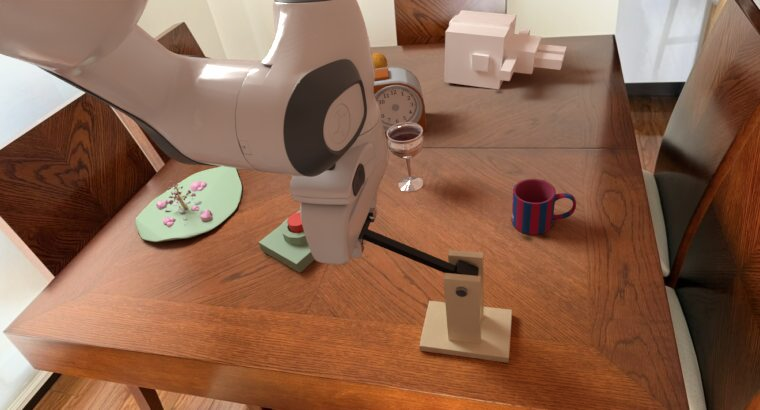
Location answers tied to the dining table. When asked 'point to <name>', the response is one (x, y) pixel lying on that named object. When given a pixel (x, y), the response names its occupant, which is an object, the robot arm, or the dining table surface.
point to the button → (295, 223)
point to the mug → (536, 206)
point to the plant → (191, 206)
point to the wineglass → (406, 150)
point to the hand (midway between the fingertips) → (363, 235)
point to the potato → (379, 60)
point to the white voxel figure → (493, 50)
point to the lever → (416, 253)
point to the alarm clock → (399, 97)
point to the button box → (288, 247)
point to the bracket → (466, 317)
